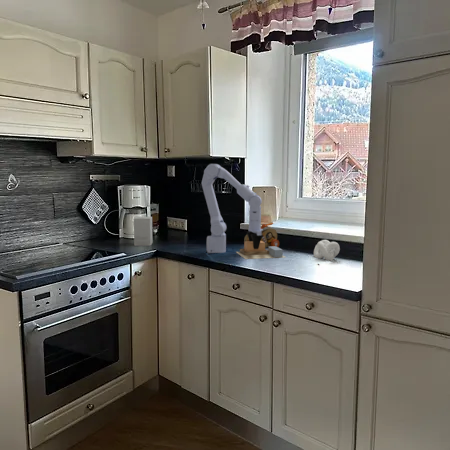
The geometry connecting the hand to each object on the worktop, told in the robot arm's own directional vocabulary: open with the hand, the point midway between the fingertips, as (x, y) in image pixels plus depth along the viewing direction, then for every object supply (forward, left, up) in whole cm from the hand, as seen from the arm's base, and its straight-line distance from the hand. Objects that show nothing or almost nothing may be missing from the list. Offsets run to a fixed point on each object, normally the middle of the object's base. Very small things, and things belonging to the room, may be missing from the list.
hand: (254, 247), depth 207 cm
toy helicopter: (+10, +16, -4) cm, 19 cm away
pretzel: (+30, -16, -4) cm, 34 cm away
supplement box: (-51, +38, -4) cm, 64 cm away
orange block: (0, 0, -2) cm, 2 cm away
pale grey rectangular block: (+8, -7, -3) cm, 11 cm away
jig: (+2, -4, -4) cm, 6 cm away
